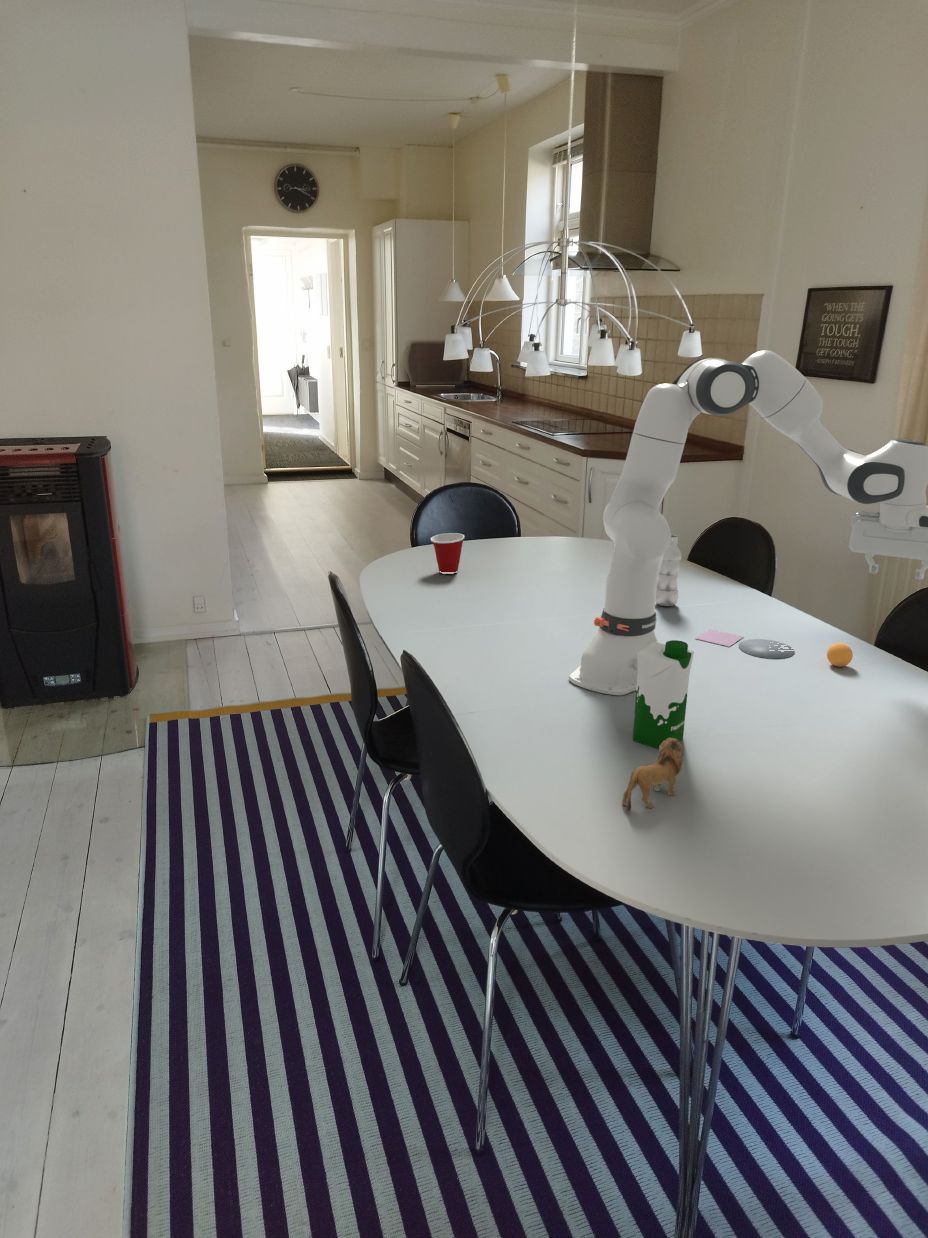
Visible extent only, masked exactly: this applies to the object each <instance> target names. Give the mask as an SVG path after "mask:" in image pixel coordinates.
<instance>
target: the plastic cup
mask: <svg viewBox="0 0 928 1238" xmlns="http://www.w3.org/2000/svg"><path fill="white" fill-rule="evenodd" d="M464 540H465V534H462V533H457V532H448V533H440V534H436V535H434V536H432V537H430V541H431V543H432V546H433V547H434V548H433V549H434V552H435V558H436V563H437V567H438V572H439V571H441V572H456V571H457V572H458V571H459V564H460V561H461V554H462V548H463V543H464Z"/></svg>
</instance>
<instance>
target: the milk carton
mask: <svg viewBox="0 0 928 1238" xmlns="http://www.w3.org/2000/svg"><path fill="white" fill-rule="evenodd" d="M694 653H695V652H694V650H693V651H692V650H690V649H689V644H688V643H687V642H686V641H682V640H676V639H675V640H672V639H671V640H667V641H666V642H665V644H663V643H660V642H659V643H654V644H652V645H650V646H649V647H647V648H645V649H643V650H642V651H640V652H638V653H637V662H638V674H637V688H636V690H635V703H634V717H633V728H632V729H633V730H632V731H633V732H632V741H634V742H637V743H640V744H643V745H646V746H649V747H652V748H655V749H658V750H659V746H660V745H661V743H662V742H663V741H666V739H667V738H675V739H677V740H678V741H679V742H680V741H682V740H683V739H684V732H685V722H686V711H687V703H688V701H687V700H688V690H689V680H690V672H691V668H692V663H693V658H694Z"/></svg>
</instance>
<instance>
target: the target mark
mask: <svg viewBox="0 0 928 1238" xmlns="http://www.w3.org/2000/svg"><path fill="white" fill-rule="evenodd" d="M770 642H771V643H770ZM772 642H773V643H772ZM780 642H781V641H776V640H771V639H765V638H764V639H762V638H757V639H756V638H752V639H746V640H742V641H740V642H739V643H738V646H739V647H738V648H739V650H740V651H741V652H743V653H745V654H746V655H747V654H748V655H749V656H753V657H755V658H756V657H757V658H760V659H768V660H769V658H773V660H775V659H774V658H782V659H788V658H790V656H791V657H792V656H794V655H795V650H794V648H793V647H792V646H790V645H788V644H786V643H784V642H781V643H780ZM777 643H779V644H777ZM769 645H770V646H769ZM774 645H778V646H774ZM781 645H787V646H784V647H788V648H789V649H783V648H780V647H781ZM769 647H771V648H769ZM778 648H780V649H778ZM791 648H793V649H791ZM769 650H775V651H769ZM778 650H794V651H784V652H781V651H778ZM793 654H794V655H793ZM787 657H788V658H787Z"/></svg>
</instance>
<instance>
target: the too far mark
mask: <svg viewBox="0 0 928 1238" xmlns="http://www.w3.org/2000/svg"><path fill="white" fill-rule="evenodd" d="M743 637H744V636H742V635H738V634H735V633H734V634H733V633H728V632H724V631H719V630H716V629H712V628H710V629H708V630H707V631H704V632H703V633H702V634H700V635H698V636H697V637H695V638H694V640H697V641H698V640H699V641H701V642H706V643H710V644H714V645H718V646H722V645H724V647H728V648H730V647H732V646H733V645H735V644H736V643H738V642H739V641H741V640H742V639H743ZM737 641H738V642H737ZM731 645H732V646H731Z"/></svg>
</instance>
